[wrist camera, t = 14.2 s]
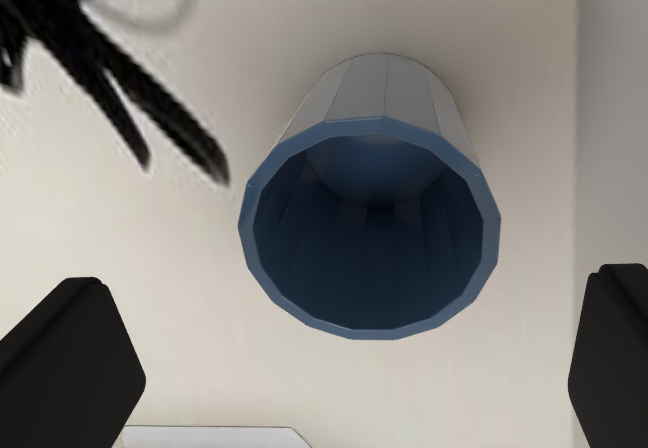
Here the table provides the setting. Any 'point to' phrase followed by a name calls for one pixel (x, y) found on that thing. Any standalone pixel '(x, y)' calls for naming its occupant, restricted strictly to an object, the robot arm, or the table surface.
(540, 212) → the table surface
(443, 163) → the cup
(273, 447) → the heart sculpture
